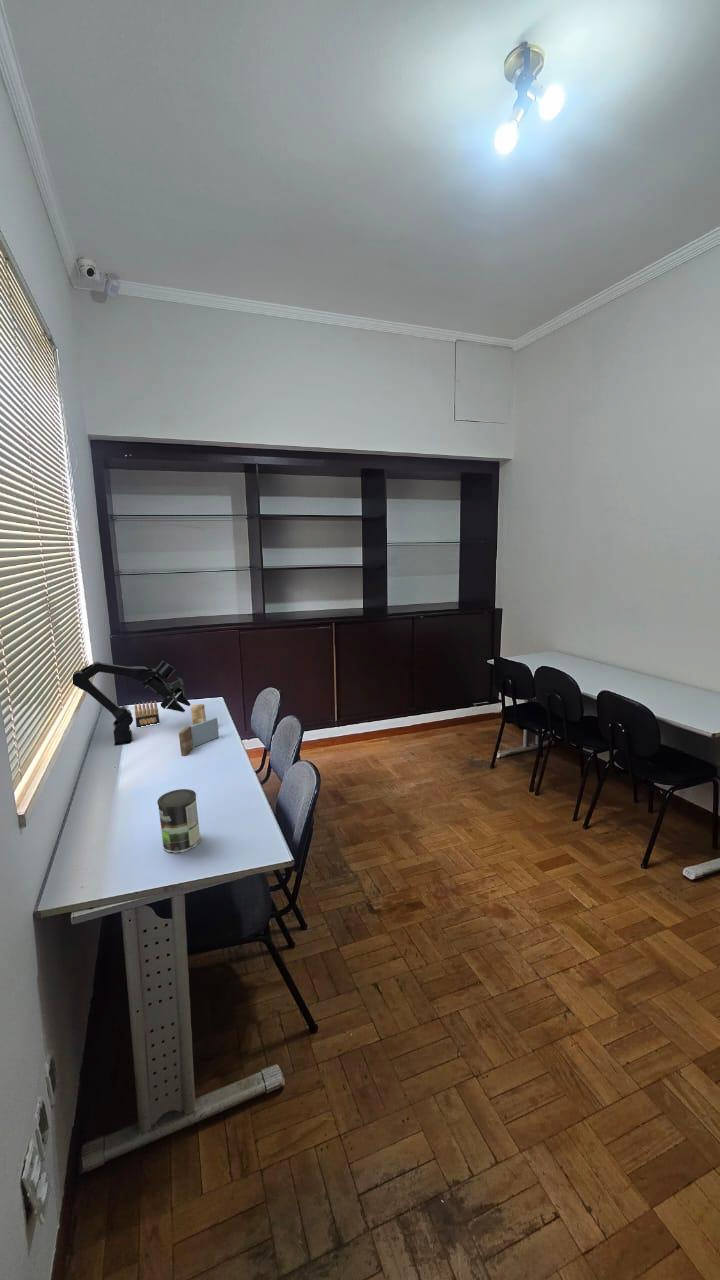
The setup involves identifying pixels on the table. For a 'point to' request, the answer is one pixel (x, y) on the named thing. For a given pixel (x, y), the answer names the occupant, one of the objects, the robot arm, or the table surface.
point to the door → (204, 731)
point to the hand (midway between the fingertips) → (187, 708)
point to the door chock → (198, 714)
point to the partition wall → (186, 740)
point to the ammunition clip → (146, 714)
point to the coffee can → (179, 820)
